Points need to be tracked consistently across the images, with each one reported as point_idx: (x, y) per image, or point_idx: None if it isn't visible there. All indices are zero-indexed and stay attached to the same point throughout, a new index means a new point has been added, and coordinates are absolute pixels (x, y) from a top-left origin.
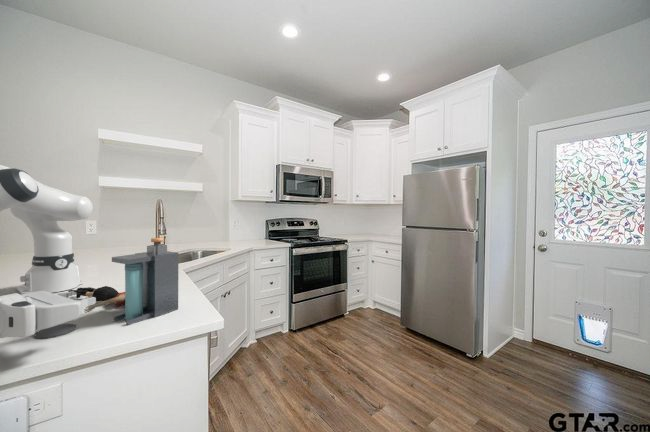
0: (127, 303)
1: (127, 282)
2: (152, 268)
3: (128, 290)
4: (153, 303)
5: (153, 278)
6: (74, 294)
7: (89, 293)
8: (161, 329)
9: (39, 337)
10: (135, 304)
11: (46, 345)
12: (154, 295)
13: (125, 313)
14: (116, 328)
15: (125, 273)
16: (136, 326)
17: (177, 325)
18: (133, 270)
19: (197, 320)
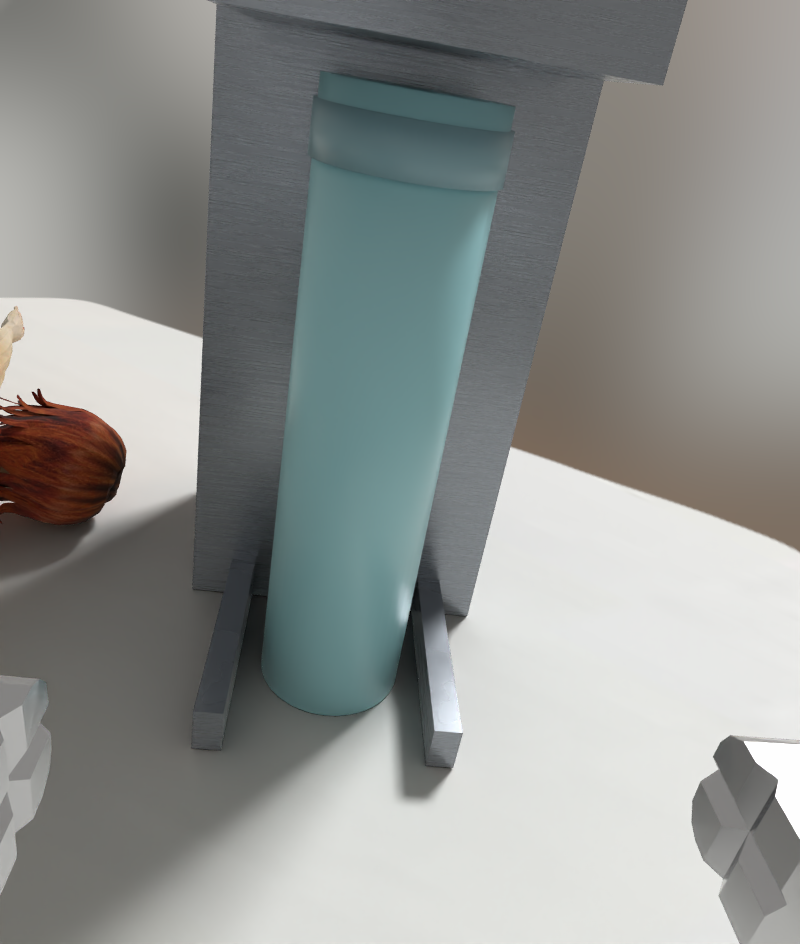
0: (368, 571)
1: (404, 348)
2: (537, 179)
3: (401, 440)
4: (472, 515)
5: (526, 291)
6: (31, 734)
7: None
8: (761, 727)
9: None
10: (418, 562)
11: None
12: (504, 450)
13: (314, 657)
14: (432, 848)
15: (381, 226)
16: (539, 756)
17: (754, 655)
18: (492, 189)
19: (747, 580)
